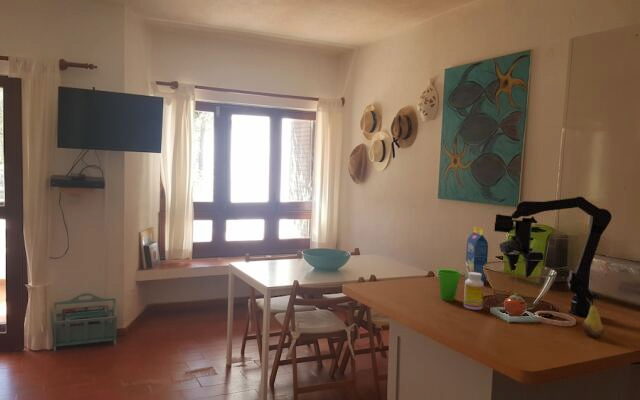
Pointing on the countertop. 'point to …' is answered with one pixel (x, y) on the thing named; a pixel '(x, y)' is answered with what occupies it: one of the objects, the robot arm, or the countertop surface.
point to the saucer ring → (554, 322)
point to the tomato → (515, 305)
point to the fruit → (593, 323)
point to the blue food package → (476, 253)
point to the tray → (514, 319)
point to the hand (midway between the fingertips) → (519, 274)
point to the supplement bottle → (473, 291)
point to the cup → (448, 283)
